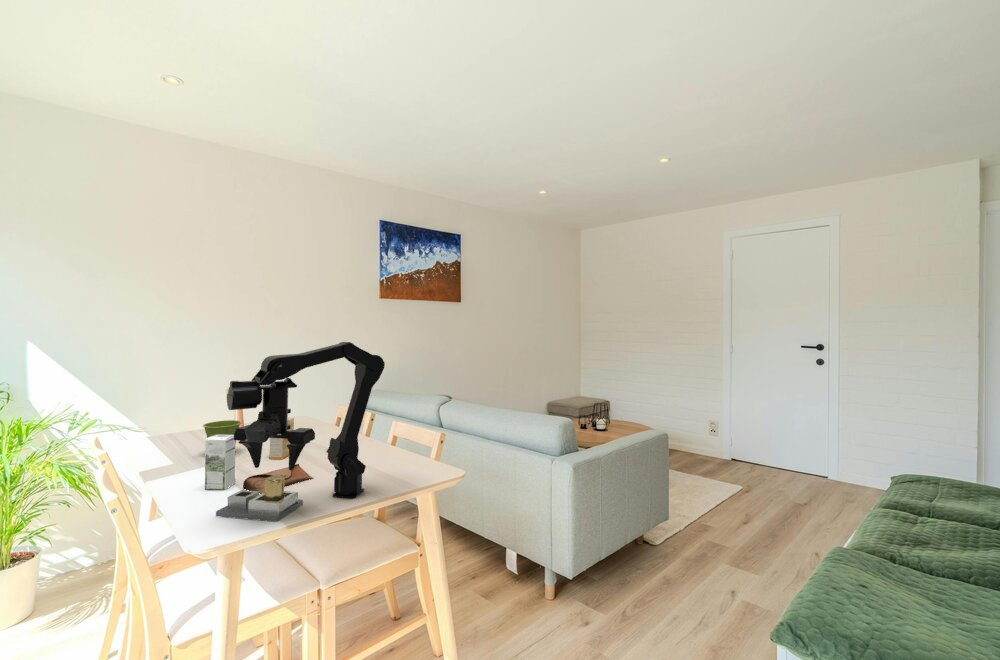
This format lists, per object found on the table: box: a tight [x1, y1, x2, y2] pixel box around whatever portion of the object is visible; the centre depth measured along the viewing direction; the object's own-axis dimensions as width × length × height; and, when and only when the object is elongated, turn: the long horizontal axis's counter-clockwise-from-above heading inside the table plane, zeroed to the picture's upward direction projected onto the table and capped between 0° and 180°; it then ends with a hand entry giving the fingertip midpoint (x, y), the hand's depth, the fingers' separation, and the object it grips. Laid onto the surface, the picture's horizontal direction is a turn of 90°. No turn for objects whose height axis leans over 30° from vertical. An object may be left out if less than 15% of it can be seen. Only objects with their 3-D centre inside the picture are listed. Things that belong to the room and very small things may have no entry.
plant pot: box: [202, 419, 242, 446], centre depth 166 cm, size 12×12×11 cm
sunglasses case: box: [242, 463, 314, 495], centre depth 138 cm, size 18×7×7 cm, turn 150°
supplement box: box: [268, 417, 295, 460], centre depth 165 cm, size 8×5×13 cm, turn 178°
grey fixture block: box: [215, 489, 304, 522], centre depth 117 cm, size 16×11×4 cm
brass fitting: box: [264, 476, 285, 502], centre depth 117 cm, size 4×4×7 cm
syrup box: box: [204, 435, 237, 491], centre depth 133 cm, size 6×6×14 cm
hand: (273, 468), depth 117 cm, fingers open, 9 cm apart
